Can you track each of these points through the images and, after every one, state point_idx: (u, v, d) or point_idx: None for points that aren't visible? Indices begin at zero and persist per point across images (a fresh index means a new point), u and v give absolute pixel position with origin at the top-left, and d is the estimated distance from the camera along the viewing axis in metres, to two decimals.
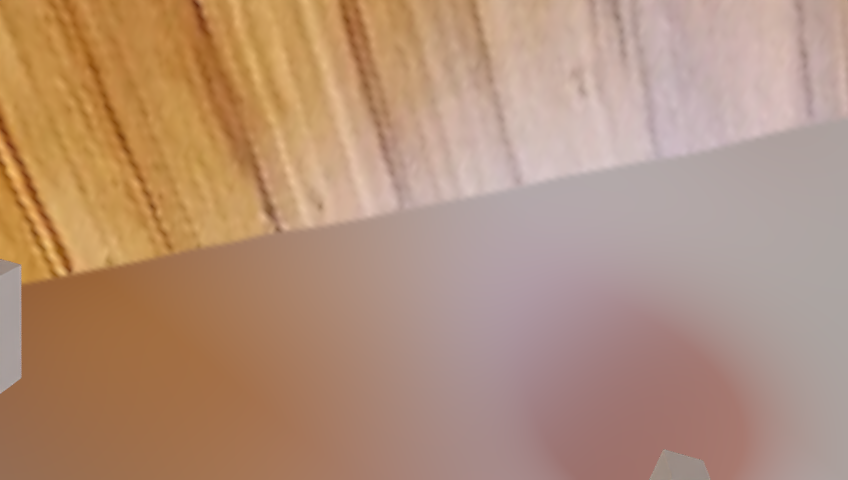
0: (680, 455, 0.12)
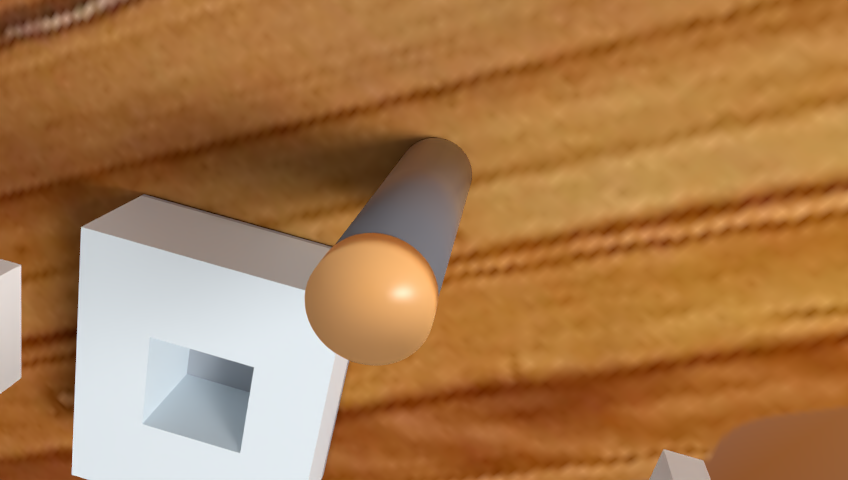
0: (681, 455, 0.12)
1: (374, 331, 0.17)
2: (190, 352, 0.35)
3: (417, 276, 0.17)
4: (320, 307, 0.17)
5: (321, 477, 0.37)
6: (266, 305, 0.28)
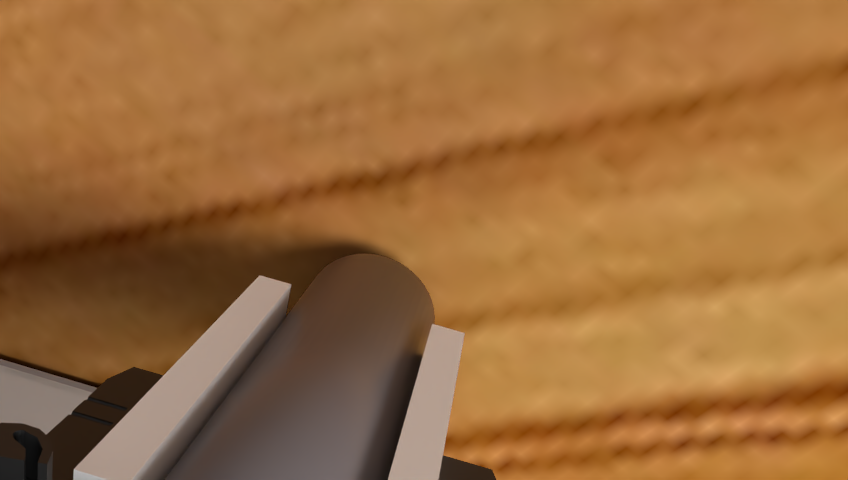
0: (445, 329, 0.14)
1: None
2: None
3: None
4: None
5: None
6: None
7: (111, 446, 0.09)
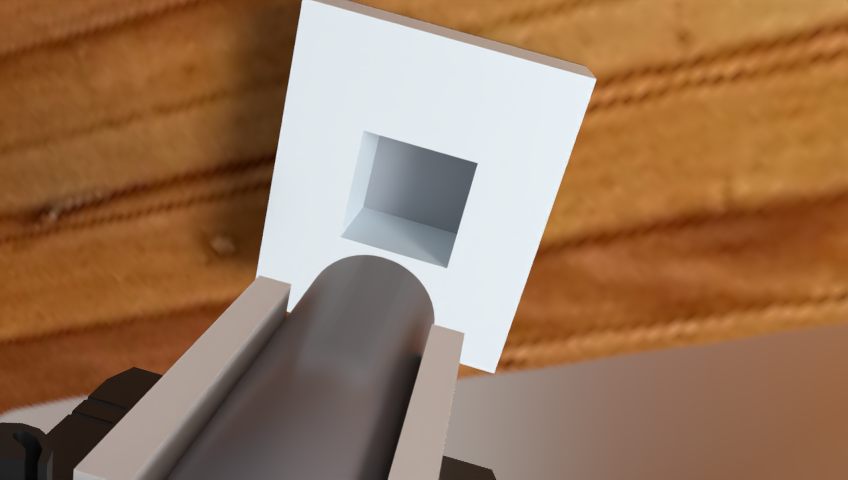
0: (445, 329, 0.14)
1: None
2: (369, 181, 0.33)
3: None
4: None
5: None
6: (503, 86, 0.26)
7: (111, 446, 0.09)
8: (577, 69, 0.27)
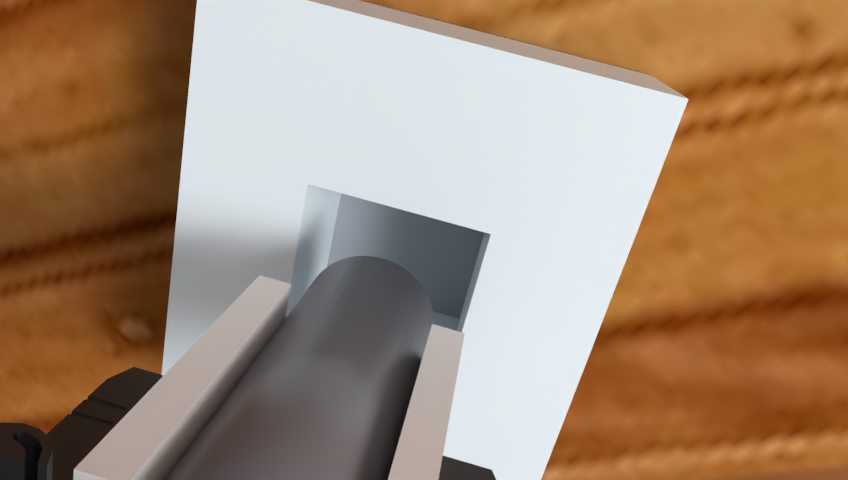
0: (445, 329, 0.14)
1: None
2: (331, 245, 0.23)
3: None
4: None
5: None
6: (531, 113, 0.16)
7: (111, 446, 0.09)
8: (647, 81, 0.17)
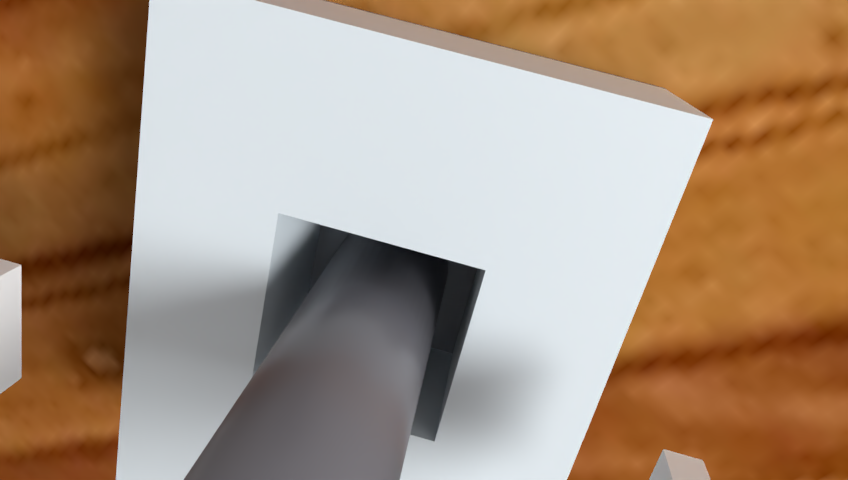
0: (680, 455, 0.12)
1: None
2: (312, 273, 0.21)
3: None
4: None
5: None
6: (532, 134, 0.14)
7: None
8: (663, 97, 0.15)
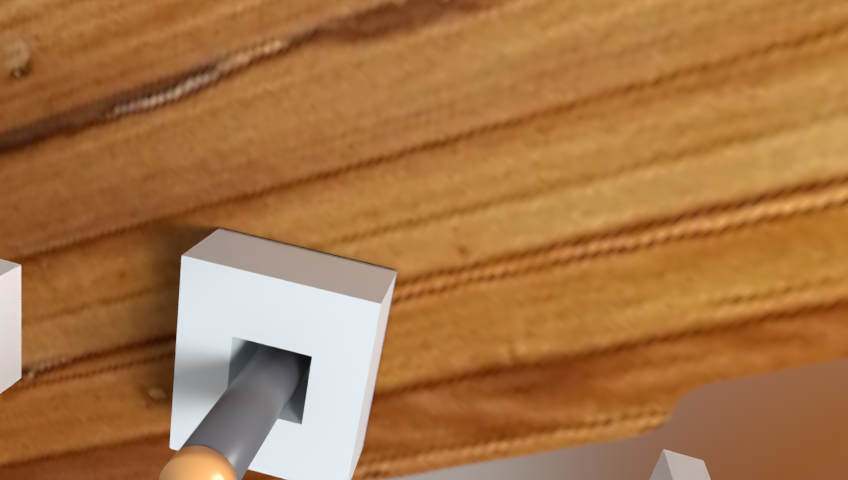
0: (680, 456, 0.12)
1: None
2: (256, 350, 0.45)
3: (216, 473, 0.30)
4: None
5: None
6: (321, 308, 0.38)
7: None
8: (378, 287, 0.39)
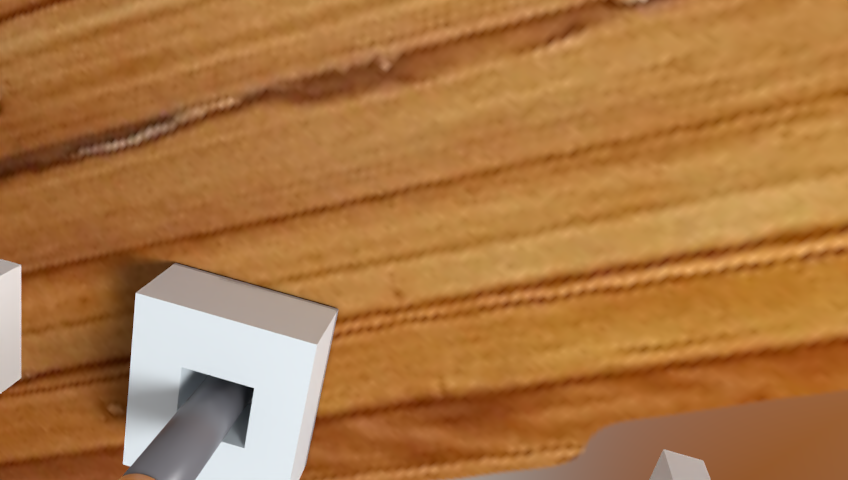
0: (680, 455, 0.12)
1: None
2: (207, 375, 0.48)
3: None
4: None
5: (304, 467, 0.50)
6: (262, 346, 0.41)
7: None
8: (317, 326, 0.42)
